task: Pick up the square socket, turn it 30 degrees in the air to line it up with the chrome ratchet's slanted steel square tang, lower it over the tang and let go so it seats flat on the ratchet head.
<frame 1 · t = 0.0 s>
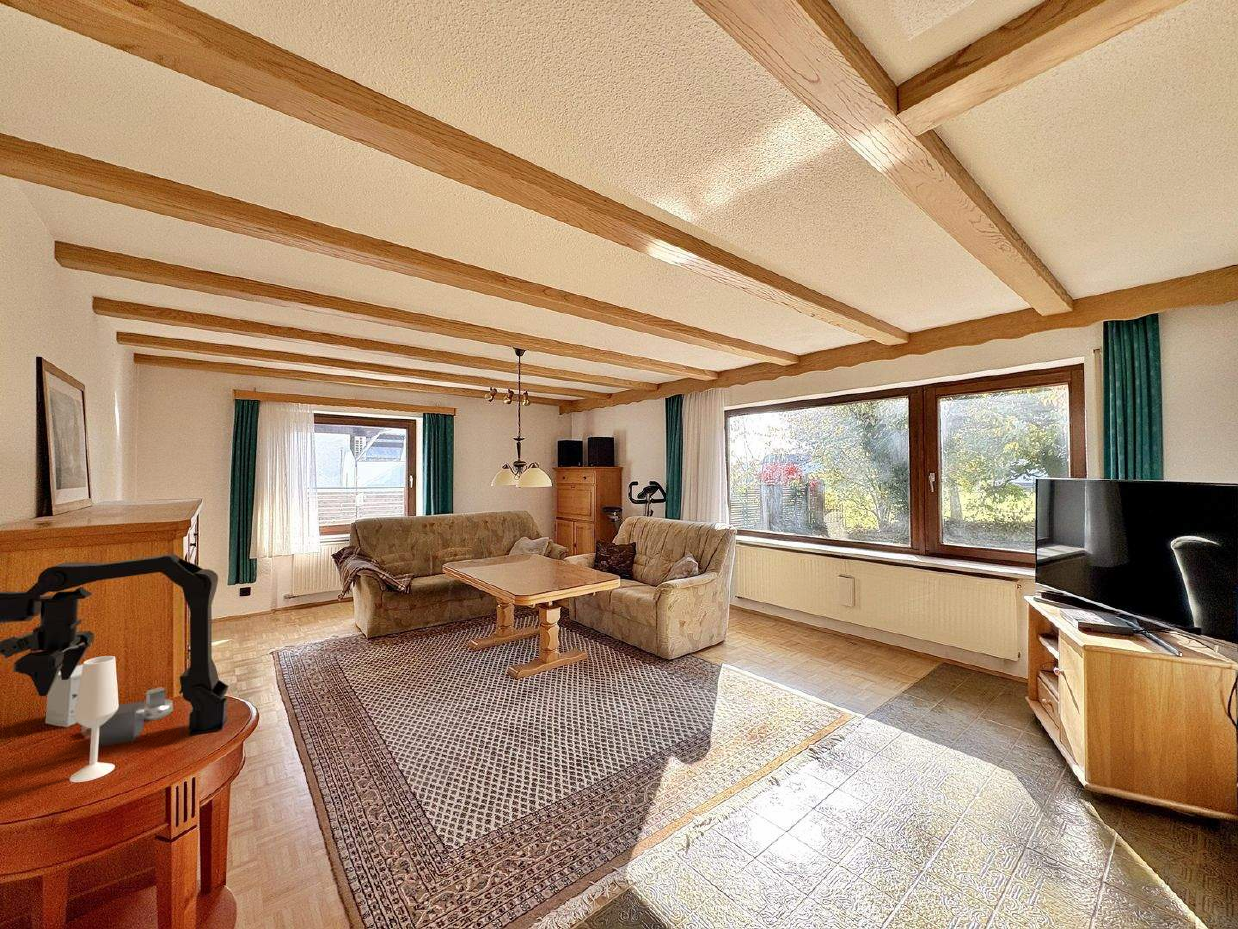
hand: (54, 687, 113), 15 cm above the table, tool pointing down, fingers open, 9 cm apart
ratchet: (154, 715, 131), on the table
socket: (121, 737, 119), on the table
supplement box: (74, 719, 127), on the table
champagne flute: (92, 773, 106), on the table
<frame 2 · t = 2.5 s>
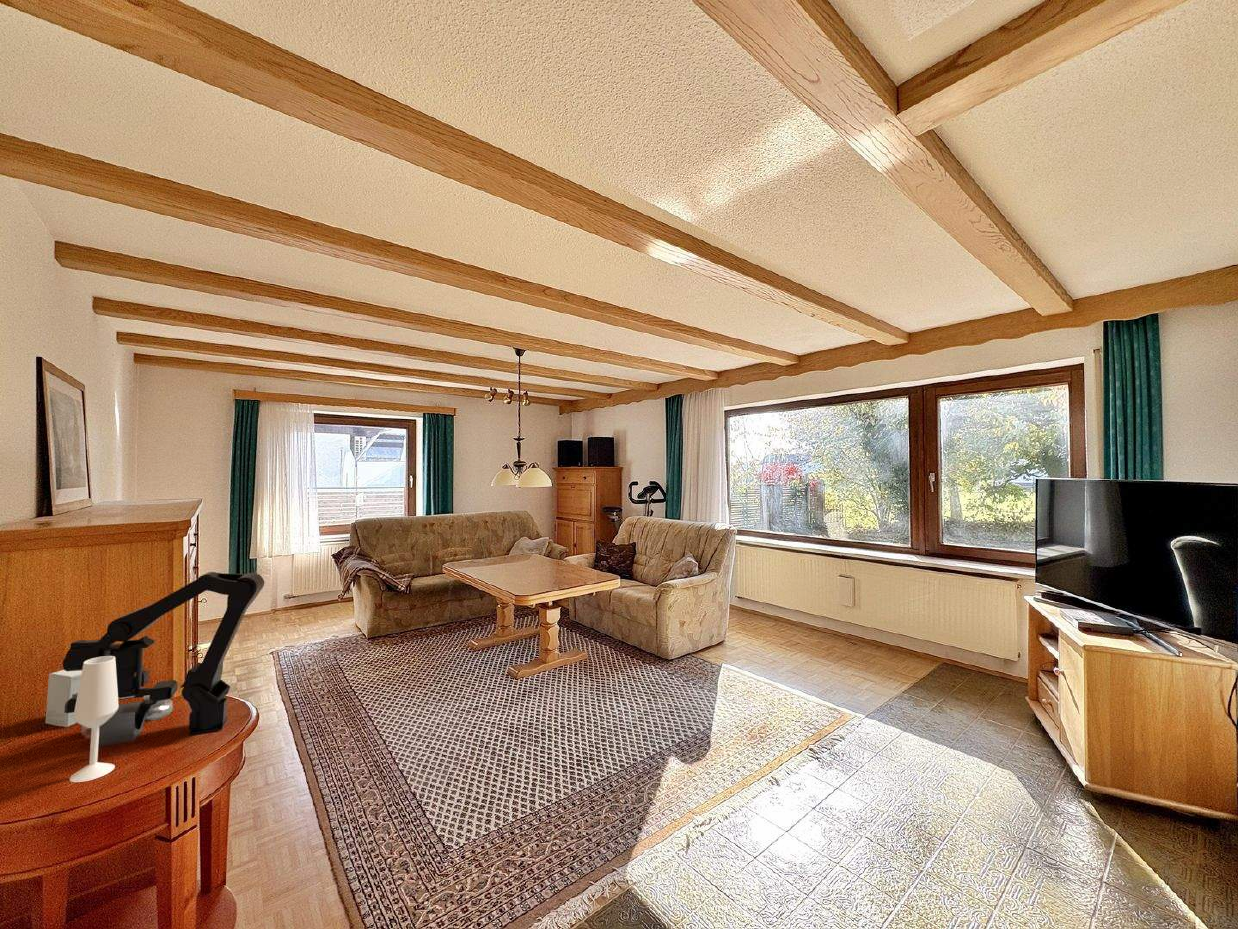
hand: (122, 731, 119), 2 cm above the table, tool pointing down, fingers closed on socket, 6 cm apart
socket: (121, 737, 119), on the table, touching gripper
everything else where it was.
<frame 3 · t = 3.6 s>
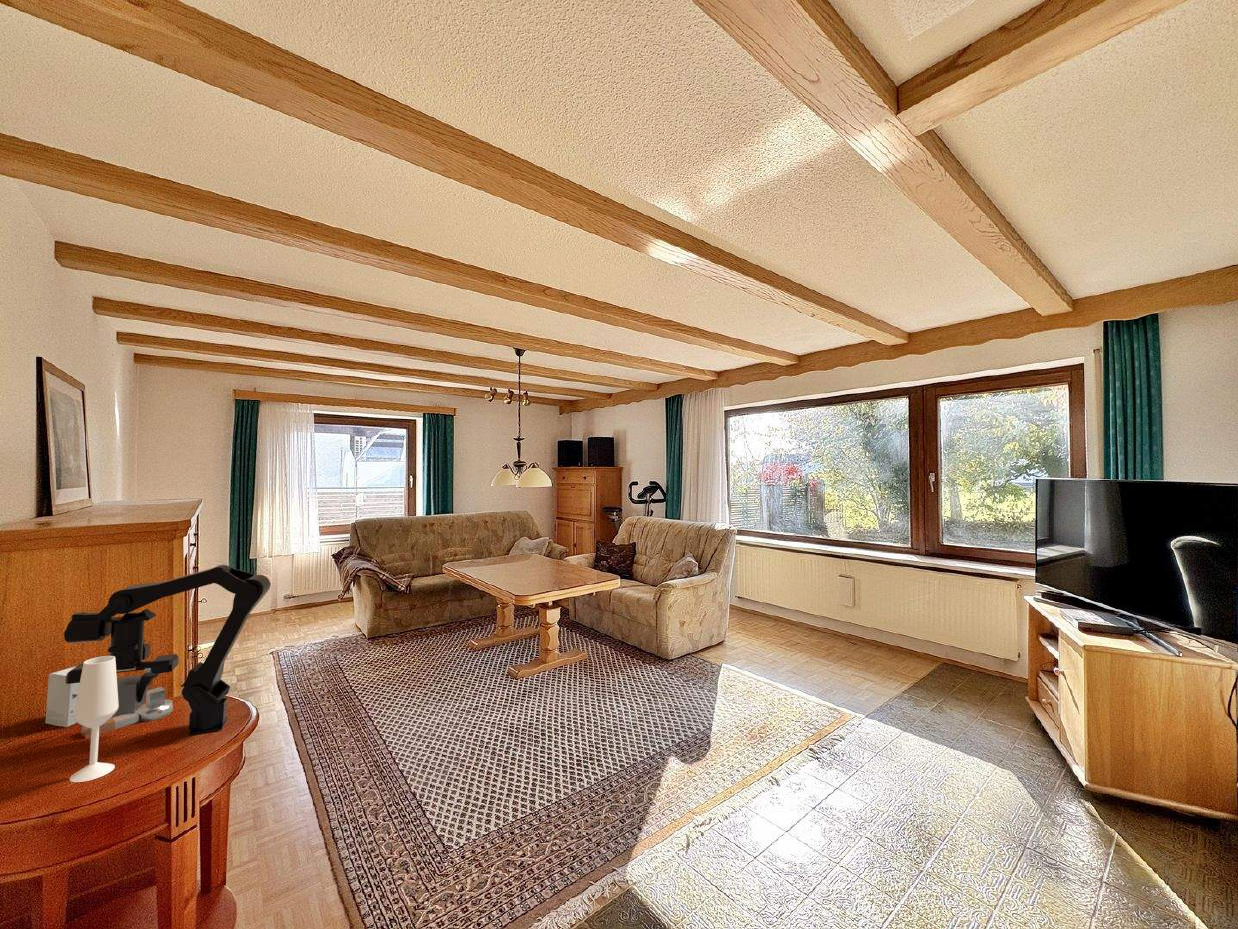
hand: (123, 703, 120), 8 cm above the table, tool pointing down, fingers closed on socket, 6 cm apart
socket: (122, 710, 120), point 7 cm above the table, touching gripper
everything else where it was.
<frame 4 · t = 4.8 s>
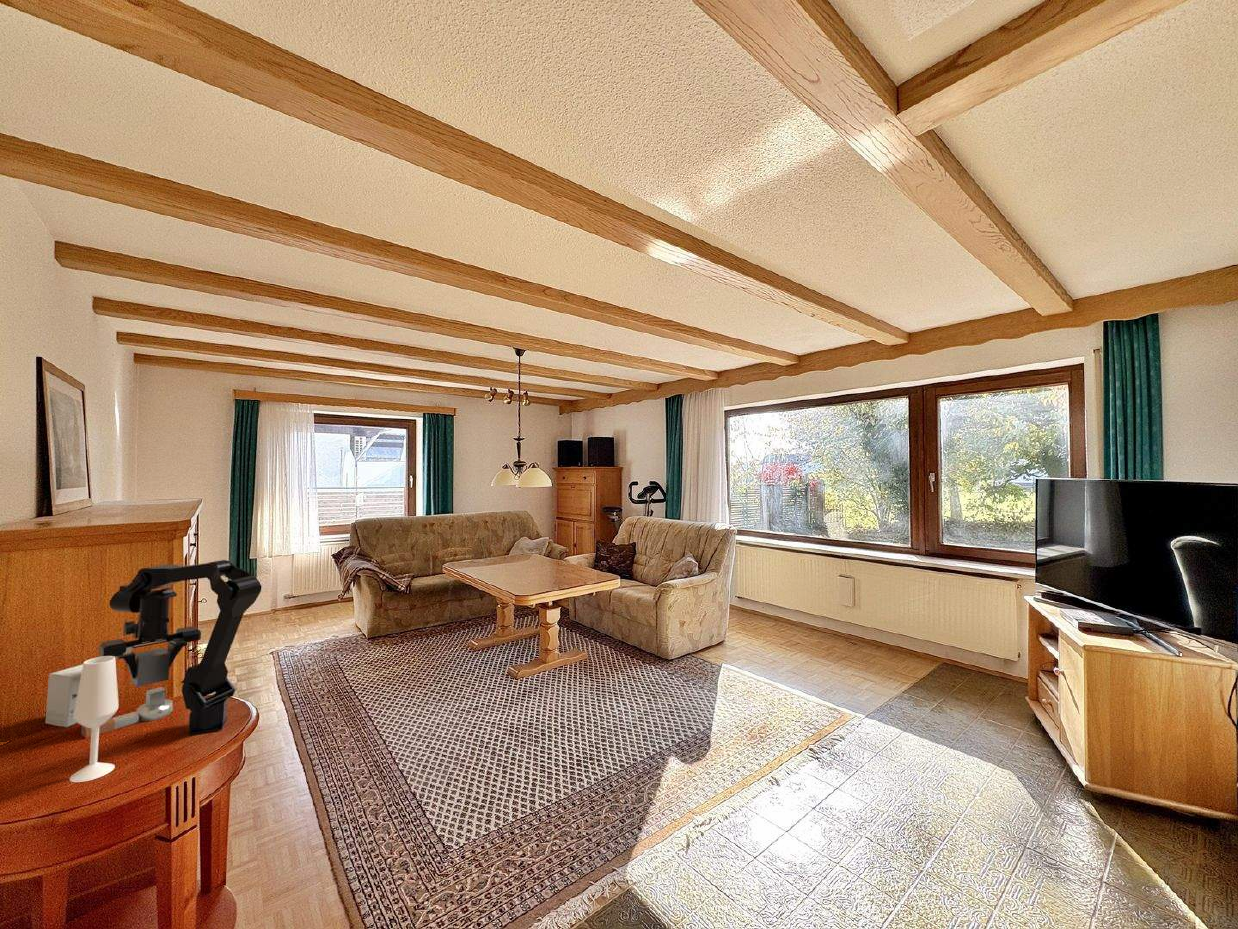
hand: (150, 674, 128), 12 cm above the table, tool pointing down, fingers closed on socket, 6 cm apart
socket: (149, 680, 128), point 10 cm above the table, touching gripper
everything else where it was.
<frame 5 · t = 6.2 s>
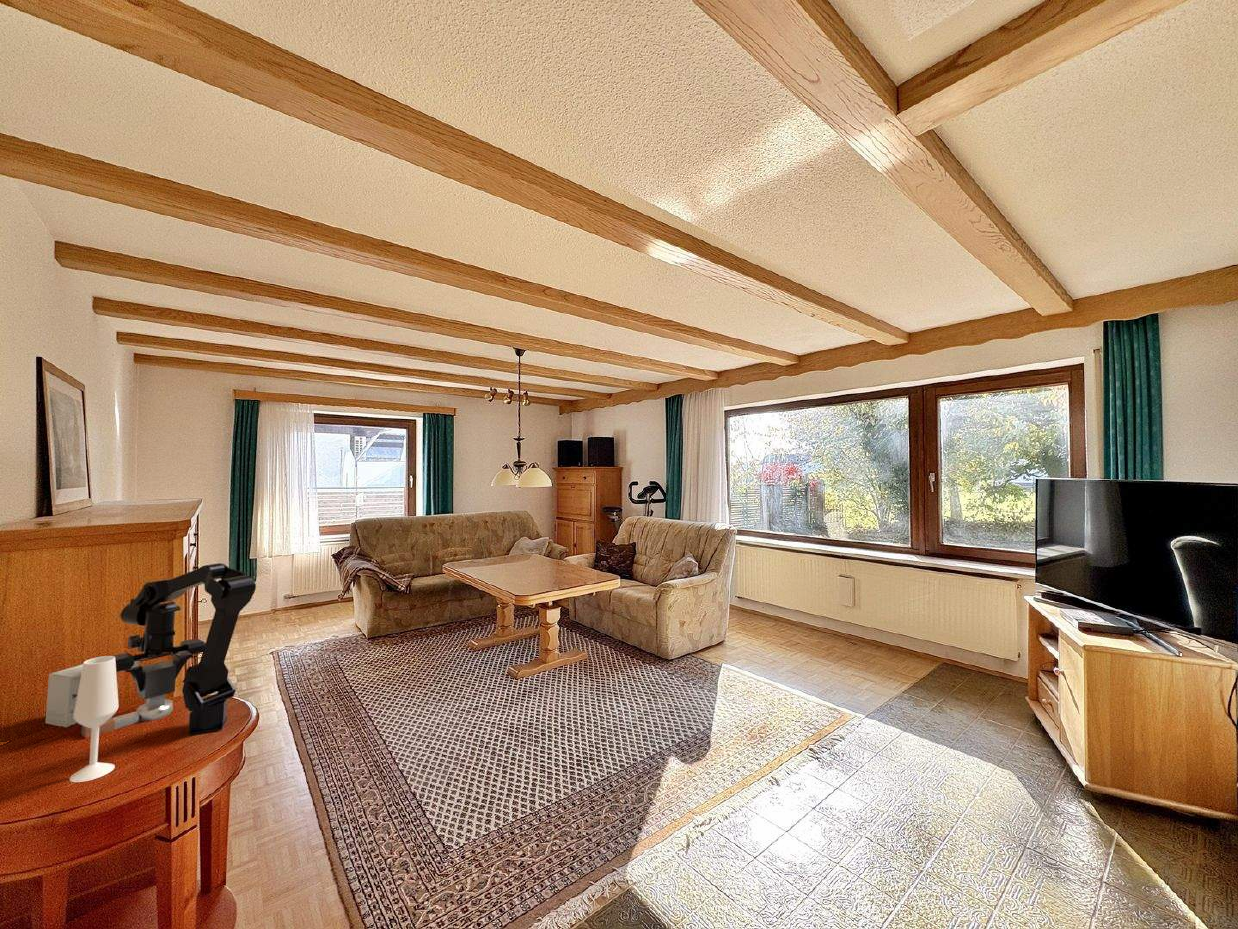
hand: (156, 686, 131), 7 cm above the table, tool pointing down, fingers closed on socket, 6 cm apart
socket: (156, 692, 131), point 6 cm above the table, touching gripper
everything else where it was.
when the fingers open (4 cm above the table, at t = 7.3 s): socket stays where it is, resting on ratchet.
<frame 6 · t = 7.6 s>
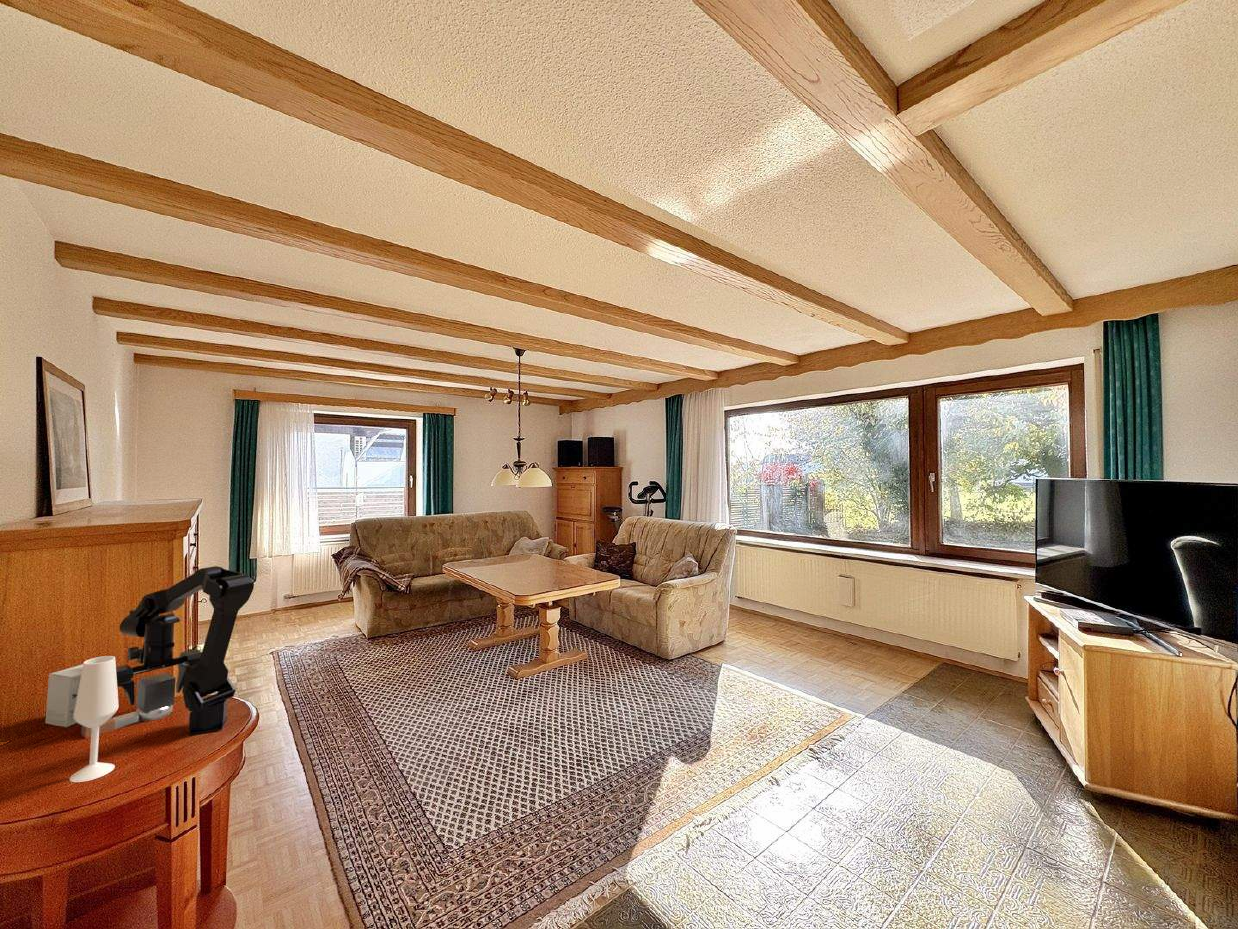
hand: (155, 698, 131), 4 cm above the table, tool pointing down, fingers open, 9 cm apart
ratchet: (154, 715, 131), on the table, touching socket
socket: (155, 705, 131), point 2 cm above the table, touching ratchet
everything else where it was.
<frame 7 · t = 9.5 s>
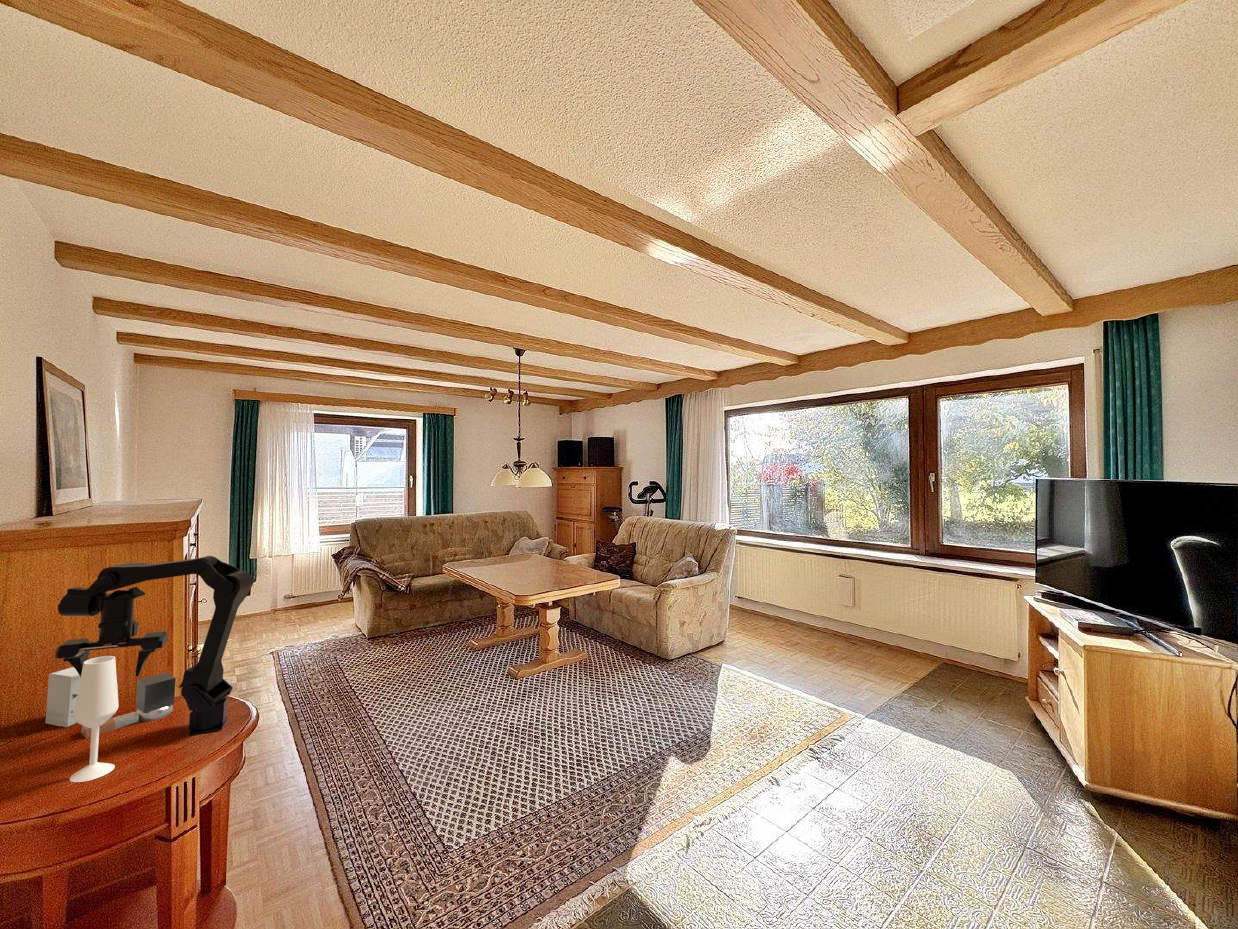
hand: (112, 679, 122), 13 cm above the table, tool pointing down, fingers open, 9 cm apart
nothing on the table moved.
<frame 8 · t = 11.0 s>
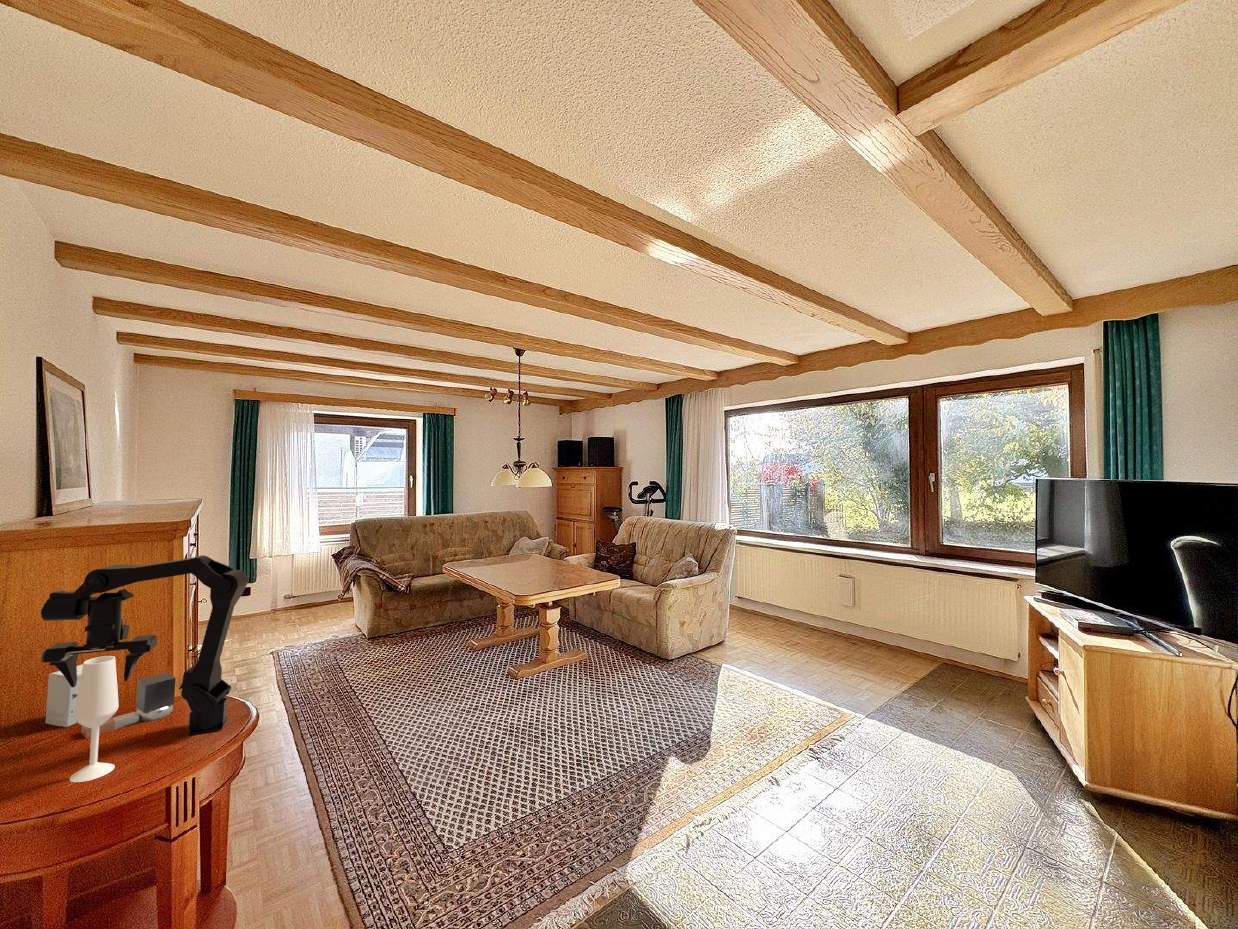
hand: (100, 683, 119), 13 cm above the table, tool pointing down, fingers open, 9 cm apart
nothing on the table moved.
at the end: socket 0.0 cm from the ratchet (horizontally); socket point 2.5 cm above the table; socket tilted 0° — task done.
